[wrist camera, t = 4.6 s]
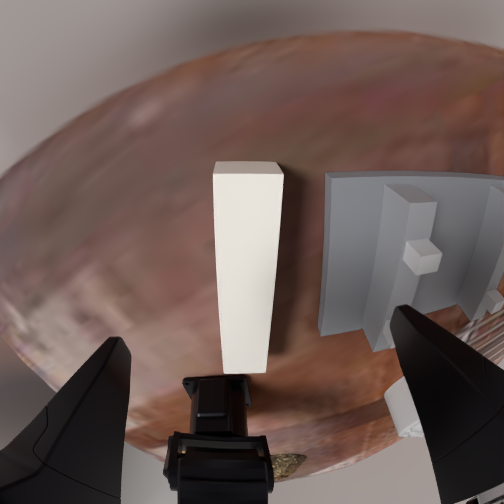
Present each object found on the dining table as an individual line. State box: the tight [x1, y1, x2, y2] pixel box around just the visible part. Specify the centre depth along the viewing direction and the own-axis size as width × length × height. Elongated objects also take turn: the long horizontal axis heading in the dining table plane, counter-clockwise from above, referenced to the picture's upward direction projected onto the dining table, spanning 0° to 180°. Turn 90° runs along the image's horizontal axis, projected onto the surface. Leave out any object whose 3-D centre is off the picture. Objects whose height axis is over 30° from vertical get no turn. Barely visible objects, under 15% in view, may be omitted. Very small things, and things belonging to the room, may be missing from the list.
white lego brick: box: [384, 377, 424, 438], centre depth 28 cm, size 10×13×9 cm
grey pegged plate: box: [318, 171, 504, 352], centre depth 17 cm, size 20×13×6 cm, turn 95°
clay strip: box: [213, 161, 284, 374], centre depth 18 cm, size 16×3×3 cm, turn 178°
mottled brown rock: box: [270, 454, 305, 480], centre depth 44 cm, size 13×12×5 cm
